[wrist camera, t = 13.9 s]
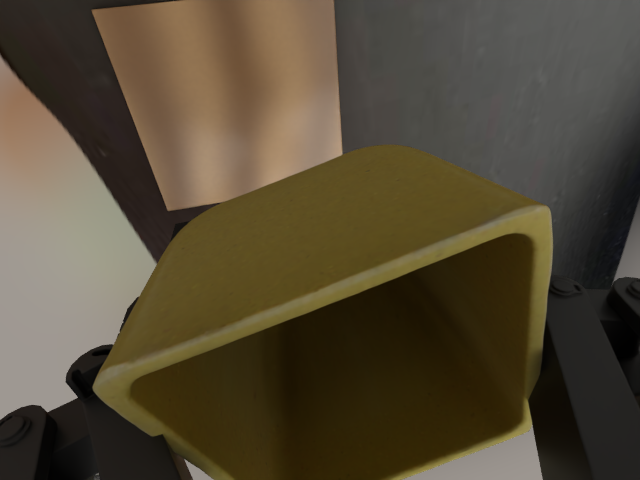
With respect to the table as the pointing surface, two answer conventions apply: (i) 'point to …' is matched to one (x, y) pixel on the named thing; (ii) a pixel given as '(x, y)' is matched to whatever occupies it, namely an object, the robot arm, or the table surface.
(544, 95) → the table surface
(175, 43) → the brown wooden board
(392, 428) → the flower pot
